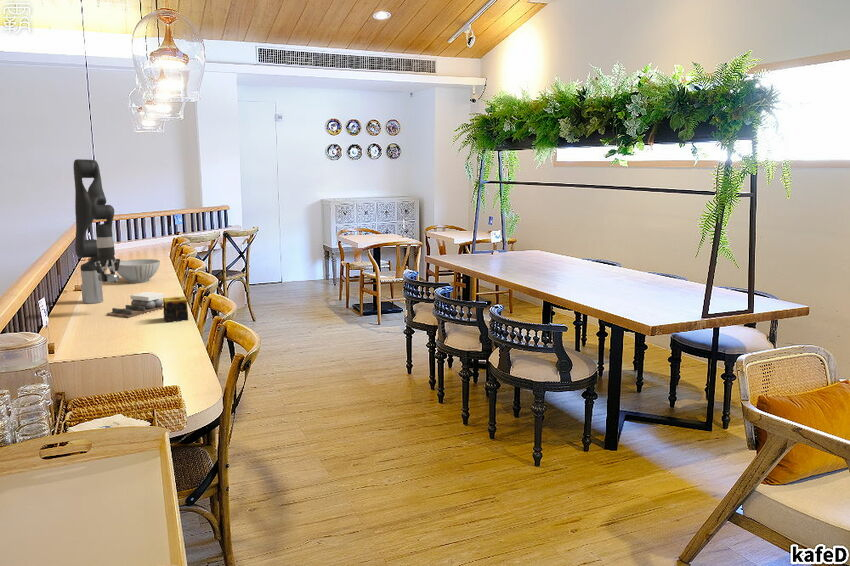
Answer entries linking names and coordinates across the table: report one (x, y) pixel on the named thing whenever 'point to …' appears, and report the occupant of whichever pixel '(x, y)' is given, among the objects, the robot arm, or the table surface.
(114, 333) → the table surface
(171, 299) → the black and yellow cube
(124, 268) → the decorative bowl
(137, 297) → the slab
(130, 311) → the roller bed
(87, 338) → the table surface
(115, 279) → the roller
